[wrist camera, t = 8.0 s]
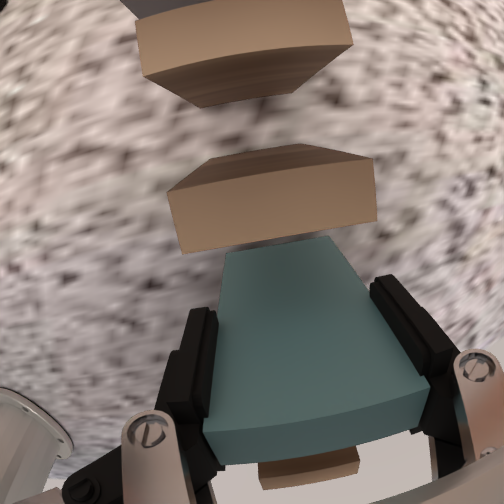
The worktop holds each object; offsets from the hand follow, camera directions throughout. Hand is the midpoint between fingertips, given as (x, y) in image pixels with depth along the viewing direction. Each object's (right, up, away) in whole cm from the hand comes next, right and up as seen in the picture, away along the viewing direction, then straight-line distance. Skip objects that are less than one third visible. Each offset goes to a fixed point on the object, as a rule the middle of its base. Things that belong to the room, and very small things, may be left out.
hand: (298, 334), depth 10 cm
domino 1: (-2, +11, +5) cm, 13 cm away
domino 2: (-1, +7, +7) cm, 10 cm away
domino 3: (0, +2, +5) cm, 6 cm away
